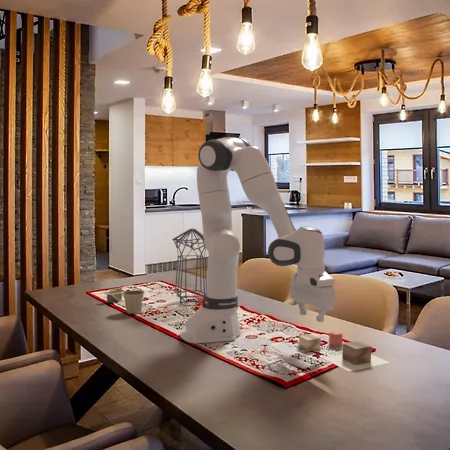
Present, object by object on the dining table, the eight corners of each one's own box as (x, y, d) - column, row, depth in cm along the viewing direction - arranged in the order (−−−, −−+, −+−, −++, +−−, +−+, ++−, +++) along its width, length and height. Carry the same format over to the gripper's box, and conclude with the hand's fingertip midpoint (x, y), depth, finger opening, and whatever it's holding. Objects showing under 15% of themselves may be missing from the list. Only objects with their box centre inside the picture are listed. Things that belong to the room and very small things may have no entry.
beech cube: (307, 355, 159) (307, 340, 159) (298, 350, 164) (299, 335, 163) (320, 352, 161) (320, 338, 161) (311, 348, 166) (311, 333, 165)
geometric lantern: (170, 301, 232) (171, 227, 230) (201, 299, 238) (202, 227, 236) (179, 308, 217) (180, 229, 215) (213, 306, 223) (214, 229, 221)
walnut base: (355, 365, 147) (355, 349, 146) (342, 358, 152) (342, 343, 152) (370, 362, 149) (371, 346, 149) (357, 355, 155) (357, 340, 154)
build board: (348, 375, 142) (348, 371, 142) (323, 362, 153) (323, 358, 153) (390, 366, 149) (390, 362, 149) (363, 354, 160) (363, 350, 160)
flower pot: (118, 313, 209) (117, 293, 208) (130, 308, 218) (130, 289, 217) (137, 316, 206) (136, 295, 205) (148, 310, 214) (148, 291, 214)
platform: (138, 301, 233) (138, 287, 233) (105, 308, 221) (104, 293, 220) (124, 297, 242) (124, 284, 241) (91, 303, 229) (91, 289, 229)
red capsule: (334, 350, 163) (334, 336, 163) (326, 347, 167) (326, 332, 167) (345, 349, 165) (345, 334, 165) (336, 345, 169) (336, 331, 168)
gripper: (285, 272, 168) (286, 312, 169) (321, 283, 150) (322, 327, 151) (300, 270, 171) (301, 309, 172) (338, 280, 152) (338, 324, 154)
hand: (311, 318), depth 161 cm, fingers open, 8 cm apart
